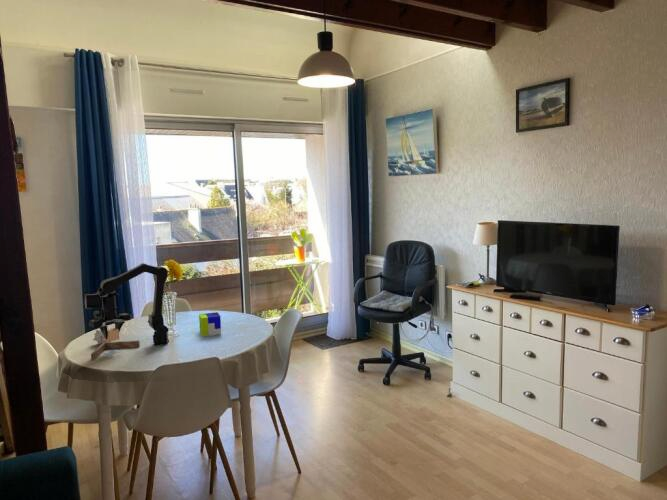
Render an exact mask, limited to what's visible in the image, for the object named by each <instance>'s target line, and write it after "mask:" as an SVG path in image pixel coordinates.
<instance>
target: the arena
mask: <svg viewBox="0 0 667 500" xmlns="http://www.w3.org/2000/svg"><path fill="white" fill-rule="evenodd" d="M140 344H141V343H140V340H122V341H121V340H120V341H118V340H117V341H111V342H104V343H102V344H101V343H100V345H99V346H98V347H97V348H96V349H95V350H93V351H92V352H91V353H90V360H91V361H95V360H96V359H97V358H98V357H99V356H100V355H102V353H103V354H105V355H108V356H111V355H115V354H119V353H122V352H123V351H122V350H119V349H125V348H140V346H141V345H140ZM107 349H111V350H107ZM105 350H107V351H105Z"/></svg>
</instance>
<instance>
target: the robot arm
mask: <svg viewBox="0 0 667 500" xmlns="http://www.w3.org/2000/svg"><path fill="white" fill-rule="evenodd" d="M143 273H146V274H147V273H148V274H151V275H152V278H153V281H154V293H153V303H152V304H153V305H152V311H151V312H152V313H151V314H148V320H147V323H148V326H149V327H150V328H151V329H153V331H154V332H153V334H152V341H153V345H154V346H163V345H168V343H169V342H170V339H169V330H170V329H169V327H167V326H166V325H165V323H164V322H165V321H164V320H165V319H164V315H163V303H164V291H165V290H164V289H165V284H166V282H167V278H168V276H169V270H168V269H167V268H165V267H164V266H161V265H157V266H154V265H149V264H148V263H144V262H143V263H140V264H139V265H137V266H135V267H133V268H131V269H129V270H126V271H125V272H123V273H121V274H120V275H117V276H113V277H109V278H107V279H103V280H102V281H101V282H100V284H99V285H100V287H99V288H98V290H97V291H96V293H88V294H87V293H85V294H84V306H85V309H86V310H89V309H98V308H100V307H101V306H102V308H101V309H100V311H99V310H94V311H93V313H92V315H93V319H91V320H89V321H88V327H89V328H93V329H97V328H98V329H99V330H101V331H102V333H103V335H104V337H105V339H107V329H108V325H106V324H108V323H112V322H113V323H114V328H116V329H119V333H120V332H121V329H122V327H123V325H124V324H126V322H127V321H131V320H132V315H131V314H130V313H126V312H124V313H118V315H117V311H118V307H117V304H116V303H117V302H116V297H120V294H119V293H118V292H117V291H116V290H117V289H118V288H120V286H122V285H123V284H125V283H127V282H128V281H130V280H132V279H134V278H136V277H138V276H140V275H142V274H143Z"/></svg>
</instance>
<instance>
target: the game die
mask: <svg viewBox="0 0 667 500" xmlns="http://www.w3.org/2000/svg"><path fill="white" fill-rule="evenodd" d="M93 335H94V338H93V339H92V341H95V342H97V344H100V345H101V344H102V343H104V342H108V341H105V340H104V335H103V333H102V331H101V330H100V329H98V330H97V329H95V333H93Z"/></svg>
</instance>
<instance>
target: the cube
mask: <svg viewBox="0 0 667 500" xmlns="http://www.w3.org/2000/svg"><path fill="white" fill-rule="evenodd" d="M104 340H105V341H108V342H116V341H118V340H120V332H119V329H116V328H115V327H110V328H107V339H105V337H104Z"/></svg>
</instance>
